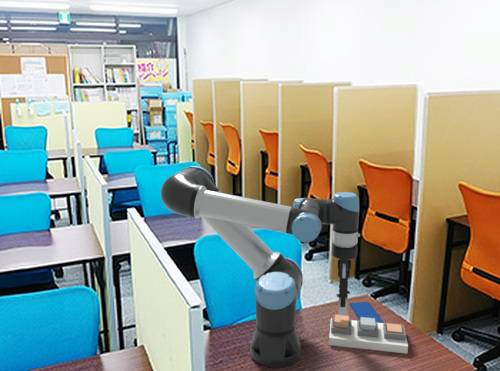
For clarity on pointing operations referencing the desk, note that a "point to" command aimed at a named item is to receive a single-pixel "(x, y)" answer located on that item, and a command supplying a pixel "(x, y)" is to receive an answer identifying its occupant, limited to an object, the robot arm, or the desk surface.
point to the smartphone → (365, 311)
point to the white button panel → (368, 337)
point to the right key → (394, 328)
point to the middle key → (367, 324)
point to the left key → (341, 321)
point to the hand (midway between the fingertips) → (342, 314)
